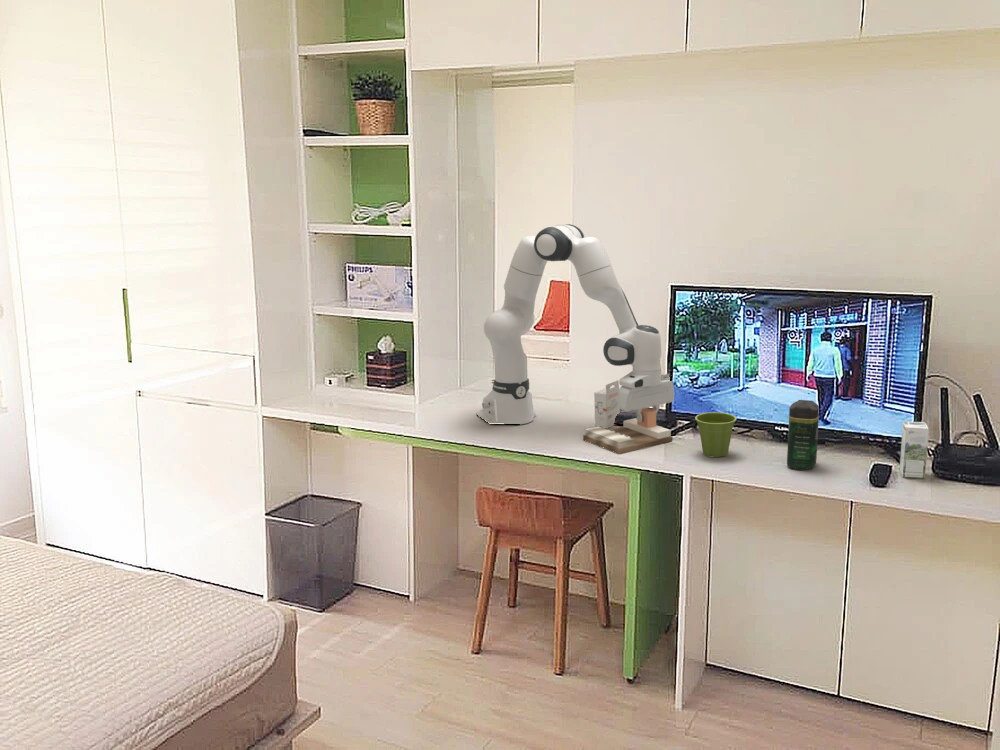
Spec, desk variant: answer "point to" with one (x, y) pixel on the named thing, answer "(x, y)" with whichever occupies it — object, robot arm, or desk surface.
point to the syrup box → (913, 449)
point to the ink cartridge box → (606, 405)
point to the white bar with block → (647, 425)
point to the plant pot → (715, 432)
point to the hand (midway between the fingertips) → (646, 420)
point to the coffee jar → (803, 434)
